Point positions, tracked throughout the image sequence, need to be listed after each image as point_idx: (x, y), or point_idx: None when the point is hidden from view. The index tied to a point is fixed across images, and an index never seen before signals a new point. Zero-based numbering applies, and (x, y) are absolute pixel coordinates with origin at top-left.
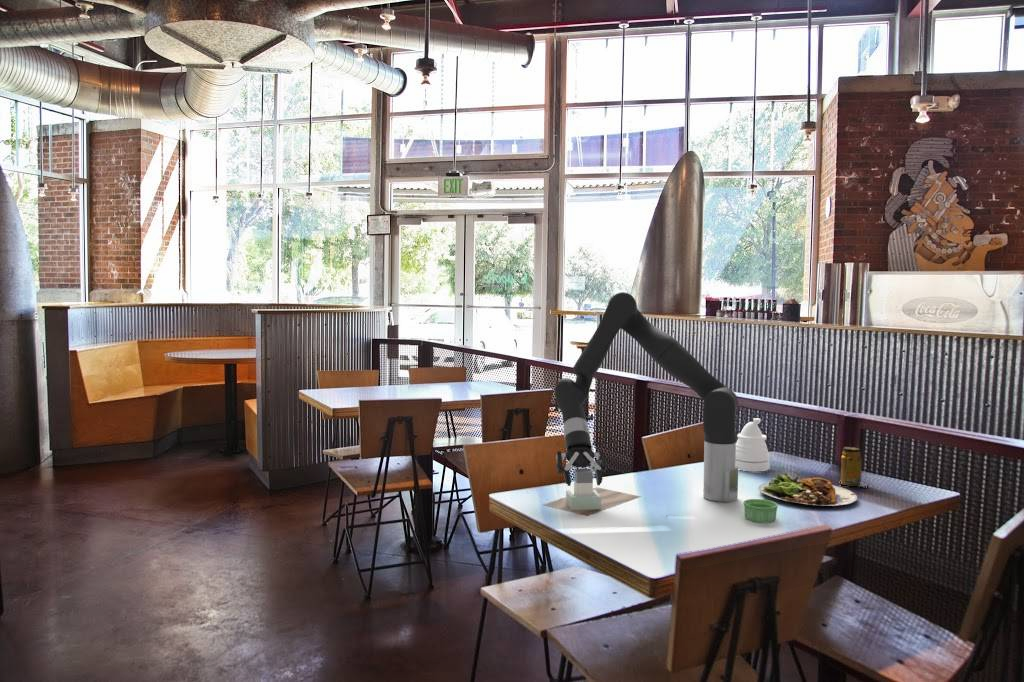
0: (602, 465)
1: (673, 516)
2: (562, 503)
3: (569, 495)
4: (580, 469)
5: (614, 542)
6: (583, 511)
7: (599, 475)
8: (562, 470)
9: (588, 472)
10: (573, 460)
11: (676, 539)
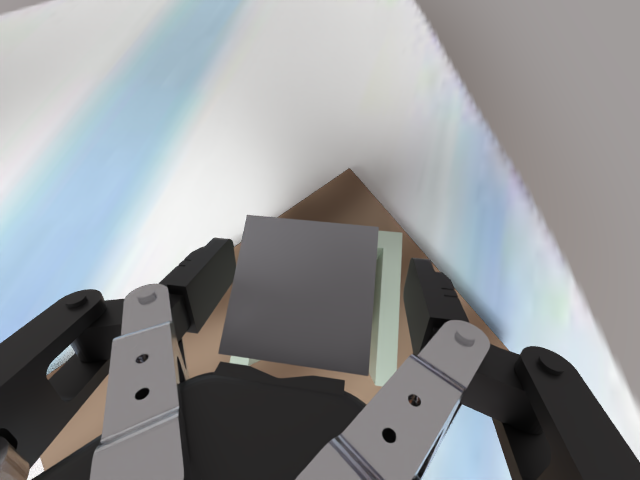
0: (86, 320)
1: (69, 172)
2: (407, 355)
3: (400, 281)
4: (313, 341)
5: (337, 7)
6: (348, 220)
7: (194, 258)
8: (499, 348)
9: (282, 218)
10: (393, 397)
11: (184, 12)
